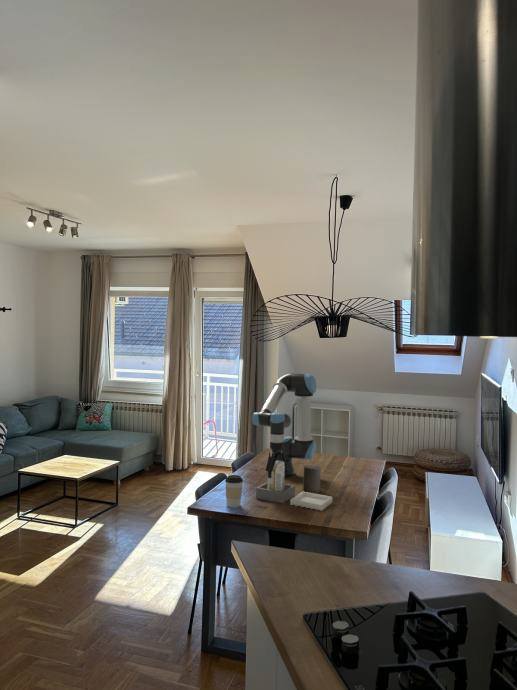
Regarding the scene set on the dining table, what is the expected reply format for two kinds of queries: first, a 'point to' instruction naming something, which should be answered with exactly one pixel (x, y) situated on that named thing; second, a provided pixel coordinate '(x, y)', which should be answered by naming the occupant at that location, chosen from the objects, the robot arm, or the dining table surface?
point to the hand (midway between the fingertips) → (275, 480)
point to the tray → (311, 500)
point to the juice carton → (278, 477)
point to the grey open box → (275, 493)
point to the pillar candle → (311, 478)
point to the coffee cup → (233, 490)
